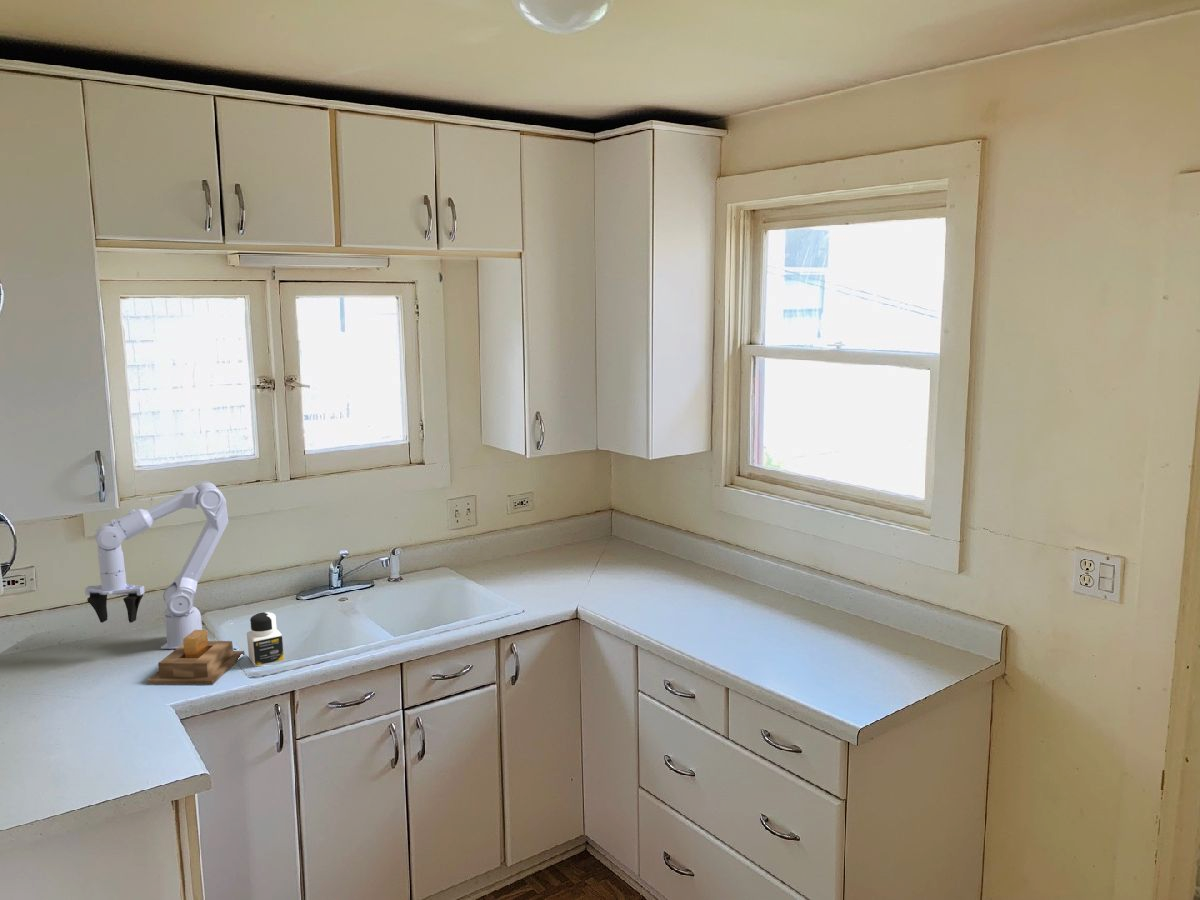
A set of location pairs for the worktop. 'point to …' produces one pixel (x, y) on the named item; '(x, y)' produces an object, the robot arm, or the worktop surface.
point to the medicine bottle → (264, 640)
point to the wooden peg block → (196, 644)
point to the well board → (196, 665)
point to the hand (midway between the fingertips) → (118, 621)
